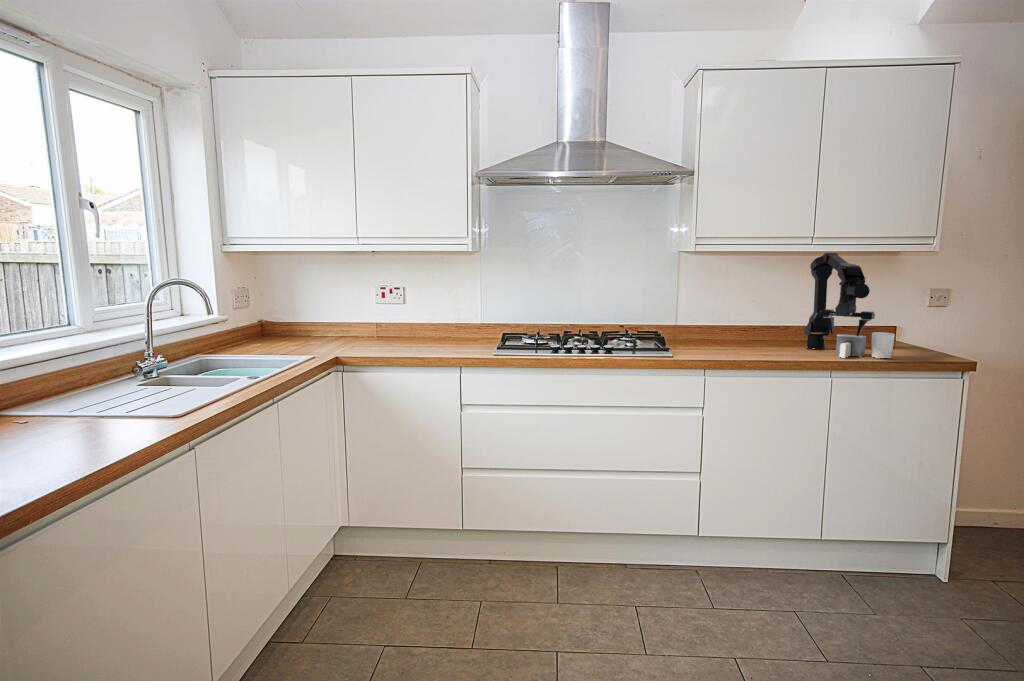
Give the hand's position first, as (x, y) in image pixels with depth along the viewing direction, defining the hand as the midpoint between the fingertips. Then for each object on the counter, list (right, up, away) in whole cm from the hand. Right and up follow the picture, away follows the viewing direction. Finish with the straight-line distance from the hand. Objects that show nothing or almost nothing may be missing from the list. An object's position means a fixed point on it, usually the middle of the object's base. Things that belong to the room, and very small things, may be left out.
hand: (844, 335), depth 234 cm
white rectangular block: (+4, -8, +5) cm, 10 cm away
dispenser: (+7, -8, +9) cm, 14 cm away
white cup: (+16, -9, +2) cm, 19 cm away
